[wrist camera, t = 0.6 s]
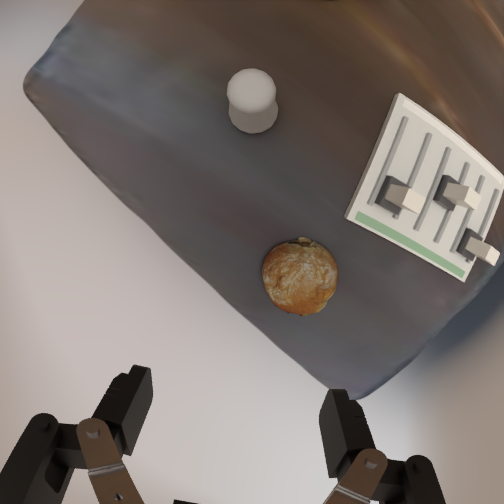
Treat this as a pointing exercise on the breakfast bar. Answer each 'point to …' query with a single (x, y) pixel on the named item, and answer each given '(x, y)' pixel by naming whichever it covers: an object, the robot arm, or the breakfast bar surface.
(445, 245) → the panel
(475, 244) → the breaker
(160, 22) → the breakfast bar surface
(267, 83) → the salt shaker
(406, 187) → the breaker
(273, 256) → the bread roll
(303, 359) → the breakfast bar surface
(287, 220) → the breakfast bar surface
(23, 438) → the robot arm
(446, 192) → the breaker
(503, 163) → the breakfast bar surface
